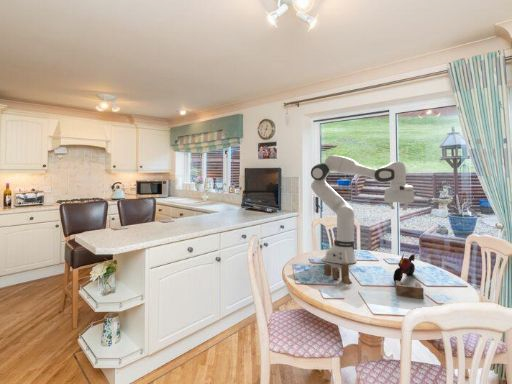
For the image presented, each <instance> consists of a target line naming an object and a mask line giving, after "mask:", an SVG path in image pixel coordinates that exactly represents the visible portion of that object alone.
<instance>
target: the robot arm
mask: <svg viewBox="0 0 512 384" xmlns="http://www.w3.org/2000/svg"><path fill="white" fill-rule="evenodd" d="M330 172H336V173H340V174H344V175H358V176H363V177H367V178H370V179H373V180H374V181H375V182H377V183H379V184H386V183H389V182H390V184H389V185H390V186H389V187H387V188H386V189H385V190H384V196H383V197H384V198H383V200H384V202H385V203H388V205H389V207H390V210H395V206H394V205H393V204H394V203H403V205H404V206H402V211H407V210H408V207H409V204H412V203H414V201H415V192H414V186H413V185H409V184H407V179H406V177H407V169H406V165H405V163H403V162H401V161H392V162H390V163H389V164H386V165H384V166H382V167H378V168H371V167H368V166H364V165H363V164H359V163H358V162H357V161H355V160H354V159H352V158H349V157H347V156H342V155H336V154H335V155H334V154H332V155H331V154H330V155H328V156H327V157H326V159H325V161H324V162H322V163H317V164H316V165H313V167H312V168H311V170H310V176H311V178H312V179H313V181H312V183H311V185H310V188H311V190H312V191H313V192H314V194H315V195H316V196H317V197H318V198H319V199H320V200H321V202H323V203H324V204H325V205H326V206H327V207H328V208H329V209H330V210H331V211H332V212H333V213H334V214H335V215H336V239H334V240H333V245H332V246H331V247H330V248H328V249H327V250H326V252H325V256H323V257H322V259H321V260H322V261H323V262H326V263H327V262H328V263H335V264H340V265H341V263H342V262H347V263H348V264H355V263H357V258H356V253H355V248H356V242H355V210H354V209H353V206H351V205H350V204H349V203H348V202H347V201H346V200H345V199H344V198H343V197H342V196H341V195H340V194H339V193H338V192H337V191H335V189H334V188H332V186H331V185H330V184H329V183H328V182H327V180H328V177H329V176H330Z"/></svg>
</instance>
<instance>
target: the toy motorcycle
mask: <svg viewBox="0 0 512 384" xmlns="http://www.w3.org/2000/svg"><path fill="white" fill-rule="evenodd" d="M404 256H405V254H403V255H402V256H401V258H400V260H399V262H398V267H397V268H396V269H395V270H394V272H393V281H394V283H396V281H400V282H401V281H402V279H403V276H404V275H406V276H408V277H411V276H413V275H414V273H415V269H416V268H415V264H414V262H415V258H416V257H415V256H416V255H415V253H413V254H411V255H410V256H409V257H404Z"/></svg>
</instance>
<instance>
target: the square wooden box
mask: <svg viewBox="0 0 512 384" xmlns="http://www.w3.org/2000/svg"><path fill="white" fill-rule="evenodd" d="M395 292H396V297H403V298H413V299H418V300H419V299H421V300H424V287H422V284H421V283H419V282H415V286H413V285H406V284H405V285H403V284H401V281H396V282H395Z"/></svg>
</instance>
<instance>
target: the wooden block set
mask: <svg viewBox="0 0 512 384" xmlns="http://www.w3.org/2000/svg"><path fill="white" fill-rule="evenodd" d="M349 264H350V263H349ZM349 264H348V263H347V262H342V263H341V264H340V268H339V267H338V266H333V267H332V264H328V263H326V264H324V265H323V275H324V276H325V277H331V276H332V277H331V278H332V279H334V280H339V279H340V278H341V282H342V283H343V284H345V285H350V286H351V284H353V282H352V281H351V279H350V277H349V276H350V271H349V270H350V269H349V267H350V266H349ZM340 269H341V270H340ZM340 276H341V277H340Z"/></svg>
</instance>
